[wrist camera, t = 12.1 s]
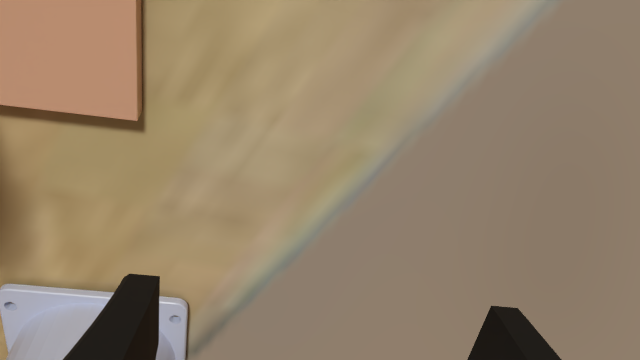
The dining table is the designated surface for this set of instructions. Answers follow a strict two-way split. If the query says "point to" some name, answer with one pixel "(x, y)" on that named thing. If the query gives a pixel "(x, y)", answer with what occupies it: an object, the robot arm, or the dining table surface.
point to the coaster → (72, 56)
